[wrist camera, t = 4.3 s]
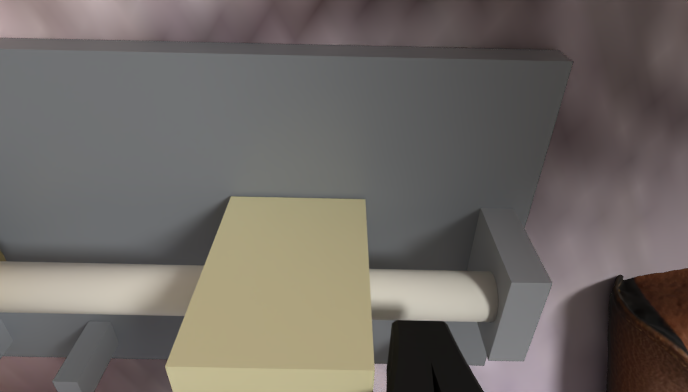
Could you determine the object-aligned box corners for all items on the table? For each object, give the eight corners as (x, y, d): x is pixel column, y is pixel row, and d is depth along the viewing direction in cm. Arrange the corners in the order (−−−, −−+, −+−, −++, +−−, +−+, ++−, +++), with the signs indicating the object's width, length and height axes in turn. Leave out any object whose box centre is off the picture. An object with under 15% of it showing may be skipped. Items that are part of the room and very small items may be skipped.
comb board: (558, 50, 12) (647, 117, 9) (478, 344, 19) (509, 455, 15) (-229, 32, 12) (-478, 93, 9) (-35, 334, 19) (-129, 443, 15)
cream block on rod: (365, 199, 14) (374, 370, 9) (360, 287, 16) (366, 467, 11) (231, 196, 14) (165, 366, 9) (242, 284, 16) (195, 463, 11)
